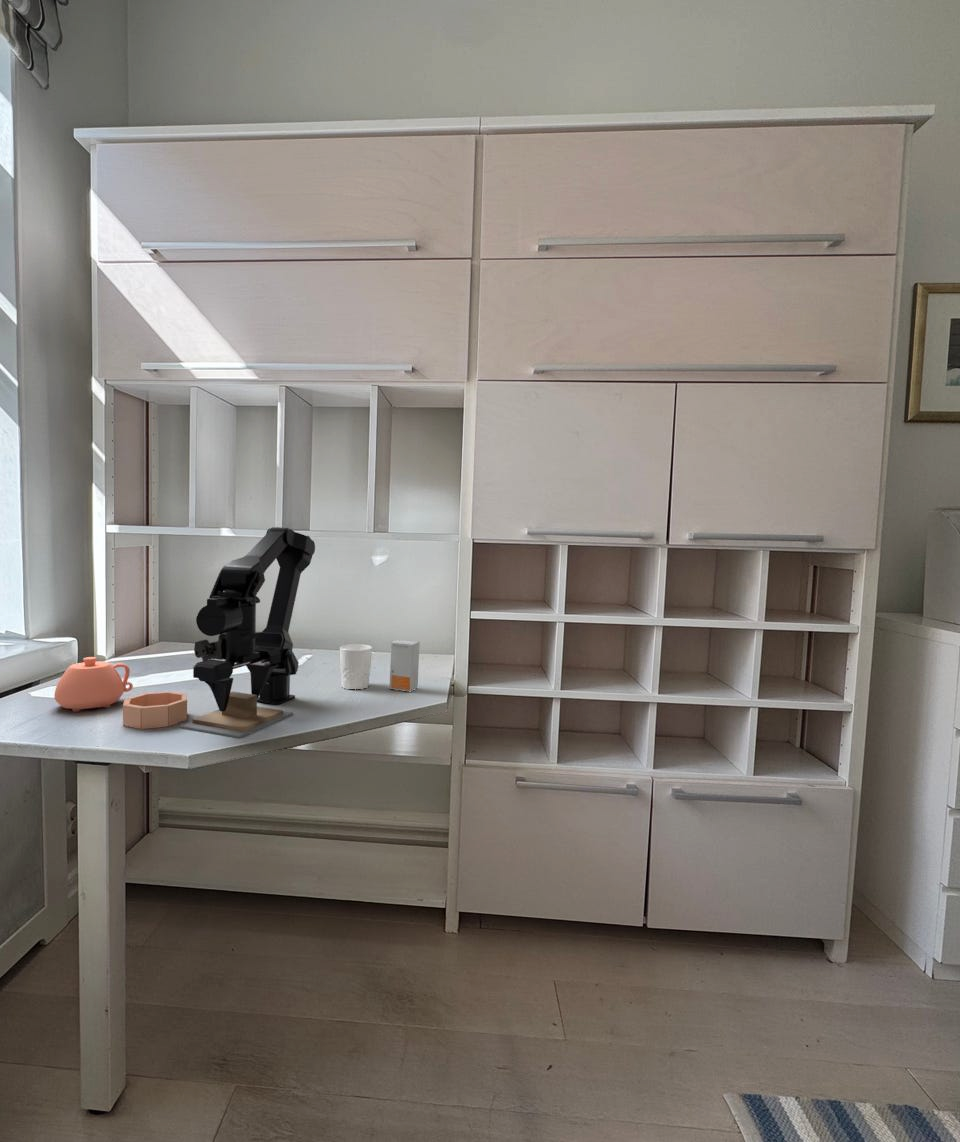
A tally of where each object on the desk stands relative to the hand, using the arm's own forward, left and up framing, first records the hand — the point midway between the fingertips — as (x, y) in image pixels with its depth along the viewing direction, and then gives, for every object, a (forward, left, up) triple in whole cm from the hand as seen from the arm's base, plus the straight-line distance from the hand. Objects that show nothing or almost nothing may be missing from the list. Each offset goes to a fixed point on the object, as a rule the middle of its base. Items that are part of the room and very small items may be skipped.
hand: (239, 704), depth 118 cm
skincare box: (-36, +19, -3) cm, 41 cm away
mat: (0, 0, -3) cm, 3 cm away
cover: (0, 0, -3) cm, 3 cm away
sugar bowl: (+4, -34, -4) cm, 34 cm away
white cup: (-33, +7, -3) cm, 34 cm away
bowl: (+6, -15, -3) cm, 16 cm away
